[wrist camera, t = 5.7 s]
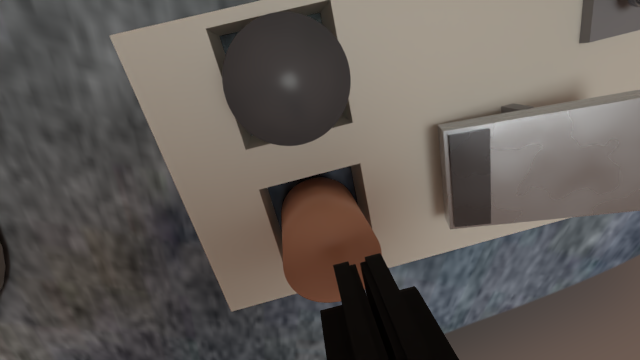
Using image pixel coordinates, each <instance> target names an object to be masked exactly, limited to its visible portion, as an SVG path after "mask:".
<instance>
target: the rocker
mask: <svg viewBox="0 0 640 360" xmlns="http://www.w3.org/2000/svg"><path fill="white" fill-rule="evenodd" d="M438 137H439V150H440V164H441V177H442V190H443V203H444V216H445V219H446V221H447V224H448V226H449V228H450V229H459V228H469V227H479V226H489V225H499V224H510V223H520V222H530V221H540V220H550V219H560V218H570V217H580V216H590V215H600V214H610V213H620V212H630V211H640V89H639V90H633V91H628V92H622V93H616V94H610V95H605V96H599V97H593V98H588V99H582V100H576V101H570V102H565V103H559V104H553V105H547V106H542V107H536V108H530V109H524V110H519V111H513V112H507V113H501V114H496V115H490V116H484V117H478V118H473V119H467V120H461V121H455V122H450V123H444V124H438Z"/></svg>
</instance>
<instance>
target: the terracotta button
mask: <svg viewBox="0 0 640 360" xmlns="http://www.w3.org/2000/svg"><path fill="white" fill-rule="evenodd" d="M281 218H282V250H283V271H284V275H285V278H286V280H287V282H288V284H289V285H290V286H291V288H292V289H293V290H294V291H295V292H297V293H298V294H299V295H301V296H302V297H304V298H306V299H309V300H312V301H316V302H324V303H330V302H338V301H341V297H340V293H339V289H338V284H337V280H336V276H335V272H334V267H333V265H335V264H339V263H343V262H347V261H348V262H349V265H353V264H356V267H357V270H358V273H359V276H360V279H361V281H362V284H363V287H364V289H365V285H364V280H363V276H362V271H361V266H360V263H361V262H365V257H367V256H370V255H374V254H378V253H380V254H381V255H382V252H381V246H380V243H379V241H378V239H377V237H376V235H375V234H374V232H373V230H372V229H371V227H370V225H369V223H368V222H367V220H366V218H365V217H364V215H363V213H362V212H361V210H360V208H359V206H358V205H357V203H356V201H355V200H354V198H353V196H352V195H351V193H350V191H349V190H348V189H347V188H346V187H345V186H344V185H343V184H341V183H340V182H338V181H336V180H333V179H330V178H324V177H318V178H311V179H308V180H305V181H303V182H301V183H299V184H297V185H296V186H295V187H294V188H292V189H291V191H290V192H289V193H288V194H287V196H286V197H285V199H284V202H283V205H282V211H281Z"/></svg>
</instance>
